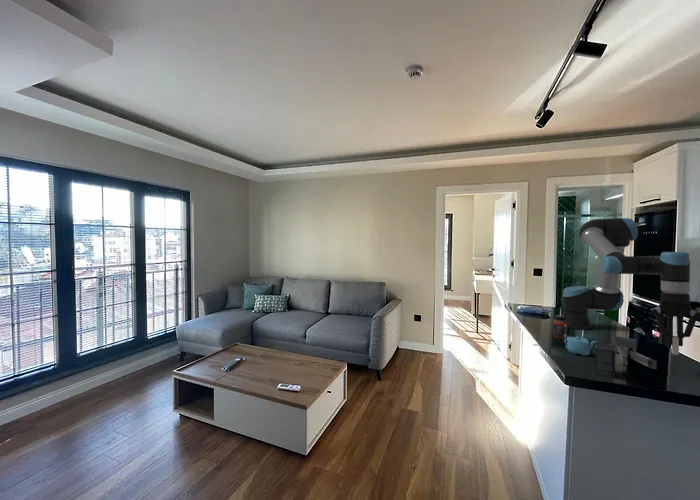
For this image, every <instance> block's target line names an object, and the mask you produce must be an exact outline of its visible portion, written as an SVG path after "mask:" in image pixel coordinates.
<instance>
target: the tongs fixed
mask: <svg viewBox="0 0 700 500" xmlns="http://www.w3.org/2000/svg"><path fill="white" fill-rule="evenodd" d="M618 347H619V349H618V351H619V352H618V355H619V358H620V360H621V363H622V365H623V366H627V367H628V365H629V349H625V347H620V346H618Z"/></svg>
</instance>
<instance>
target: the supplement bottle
mask: <svg viewBox="0 0 700 500" xmlns="http://www.w3.org/2000/svg"><path fill="white" fill-rule="evenodd" d="M552 321H553V322H552V323H553V324H552V325H553V326H552V327H553V328H552V330H553V331H552V332H553V337H554V338H556V339H560V340H565V339H567V336H568V327H567V321H565V317H564V316H562V314H559V315H555V318H554V319H553V320H552Z"/></svg>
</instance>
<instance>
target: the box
mask: <svg viewBox="0 0 700 500" xmlns="http://www.w3.org/2000/svg"><path fill="white" fill-rule="evenodd" d="M595 375H597V376H601V377H605V378H611V379H615V378H616V353H615V349H614V343H605V342H600V341H598V342H595Z"/></svg>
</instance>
